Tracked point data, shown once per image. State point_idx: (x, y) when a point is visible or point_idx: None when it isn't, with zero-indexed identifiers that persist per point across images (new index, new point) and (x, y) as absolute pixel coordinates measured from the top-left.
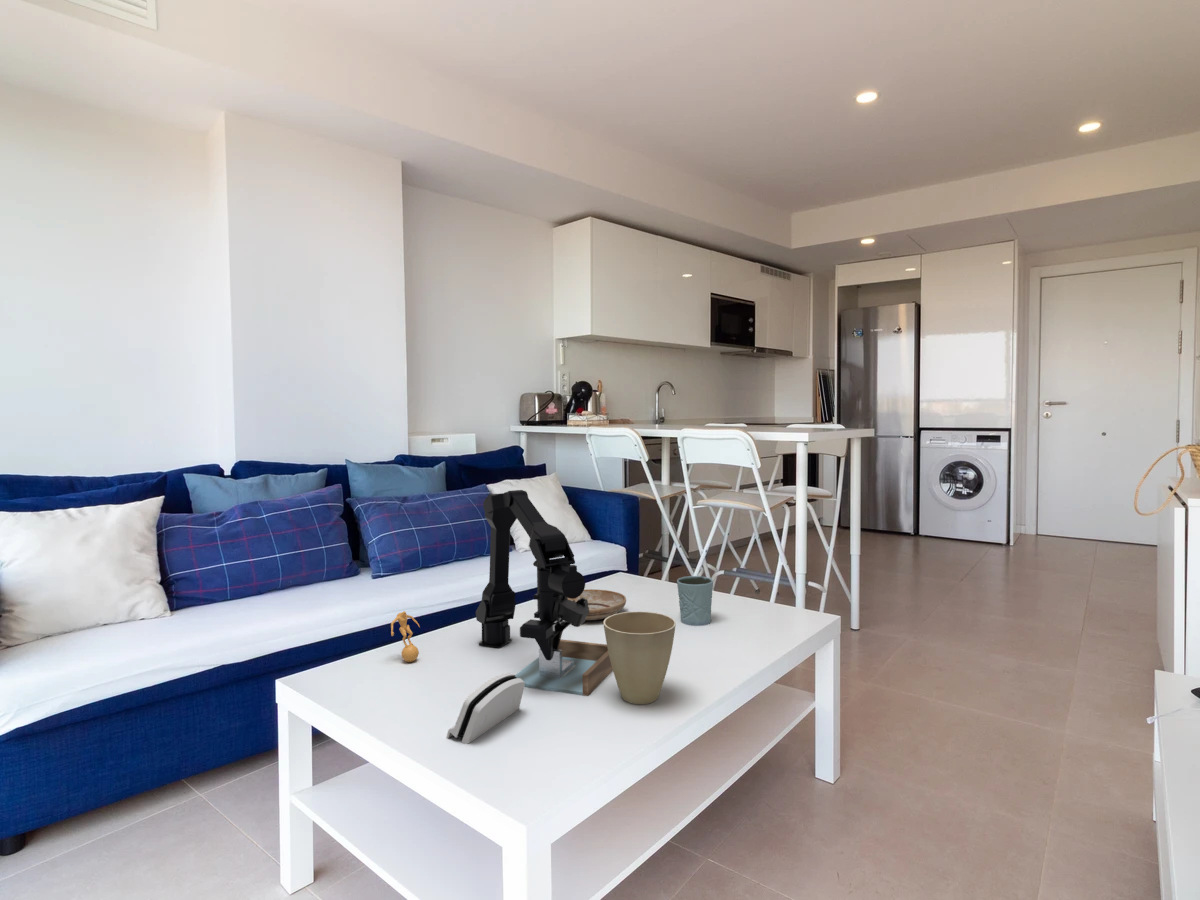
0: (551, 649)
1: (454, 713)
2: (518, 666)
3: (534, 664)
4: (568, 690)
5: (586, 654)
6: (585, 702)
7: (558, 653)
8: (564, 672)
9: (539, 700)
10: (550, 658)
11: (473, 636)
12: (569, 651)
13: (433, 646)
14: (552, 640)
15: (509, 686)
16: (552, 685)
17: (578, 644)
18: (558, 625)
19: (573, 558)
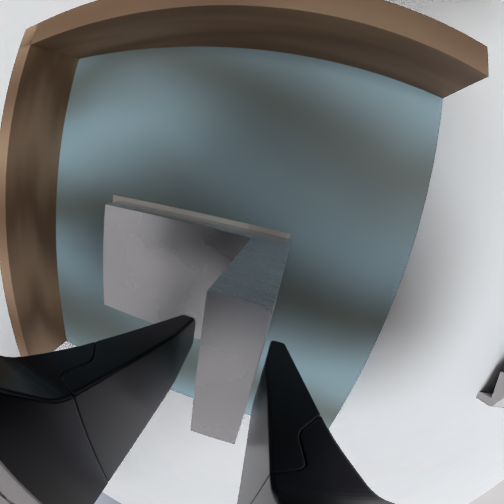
0: (296, 393)
1: (483, 447)
2: (163, 404)
3: None
4: (430, 170)
5: (42, 169)
6: (490, 93)
7: (272, 310)
8: (226, 227)
9: (484, 286)
10: (287, 349)
11: None
12: (38, 249)
13: (134, 498)
14: (303, 468)
15: None
16: (380, 262)
17: (10, 214)
18: (8, 467)
19: None
